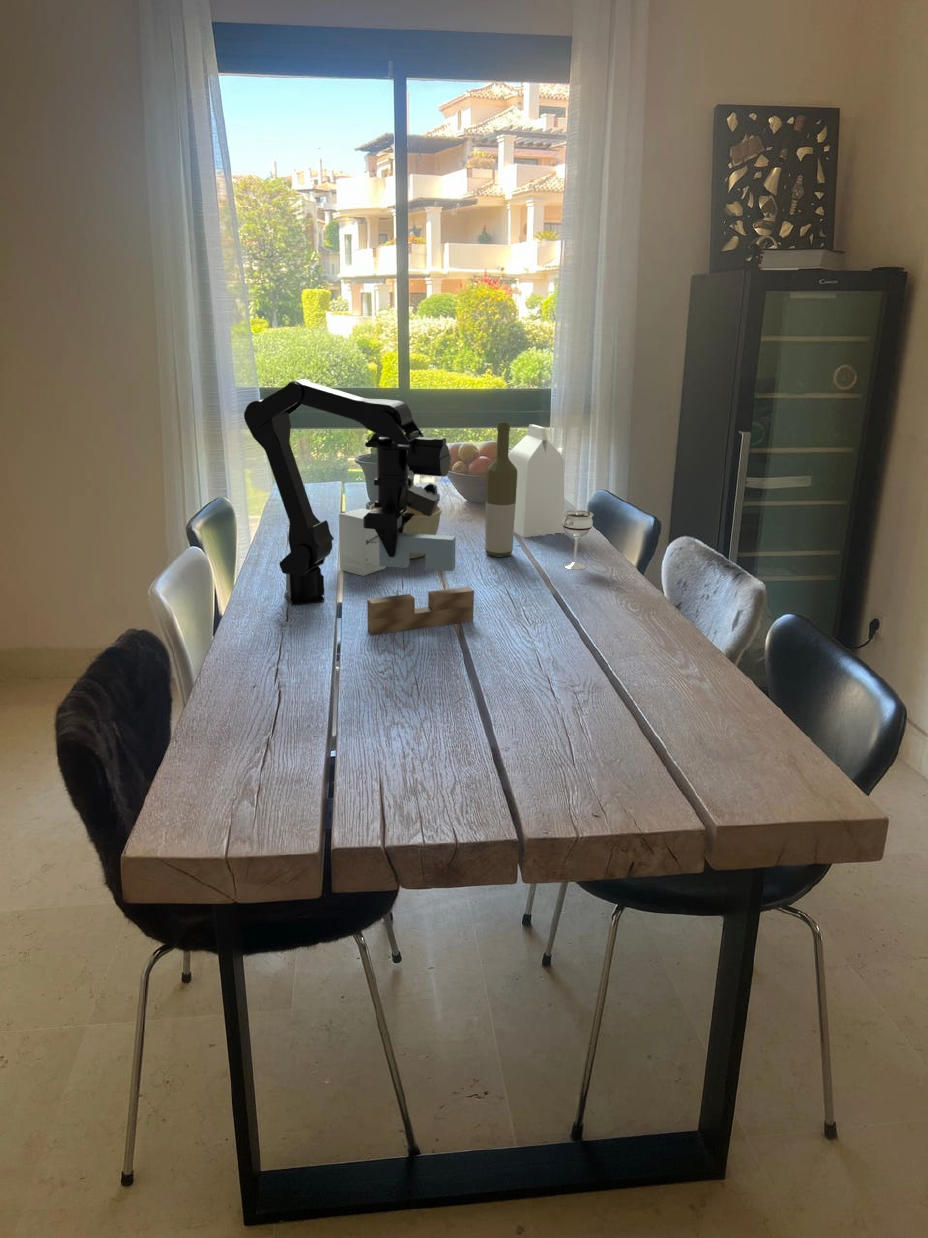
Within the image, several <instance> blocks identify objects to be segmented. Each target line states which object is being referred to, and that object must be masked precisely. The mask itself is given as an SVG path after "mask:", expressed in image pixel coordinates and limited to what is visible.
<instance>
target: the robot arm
mask: <svg viewBox="0 0 928 1238" xmlns="http://www.w3.org/2000/svg"><path fill="white" fill-rule="evenodd" d="M303 405H304V406H307V407H310V408H314V409H315V410H320V411H323V412H326V413H331V414H333V415H336V416H339V417H343V418H346V419H349V420H352V421H355V422H356V423H358V424H360V425H361V426H363V427H364V428H365V429H367V430H368V431H371V432H373V434H372V436H371V437H370V439H368V441H366V442H365V443H364V447H366V448H373V449H374V448H376V477H375V478H374V480H373V486H376V489H377V500H375V501H374V504H375V507H376V508H382V509H375V508H373V509H372V510H371V511H370V512H369V513H367V514H366V515H365V516H364V517H363V524H364V528H366V529H375V531H376V532H377V534H378V536H379V538H380V540H381V542H382V544H383V546H384V548H385V550H386V552H387V554H388V556H389V557H395V553H396V547H397V540H398V533H403V532H404V528H405V525H406V523H407V522H408V521H409V520H410V519H411V518H412V517H413V516H414V515H415V514H414V513H407V507H410V508H412V509H414V510H417V511H419V512H421V513H422V514H423V515H426V516H431V515H432V514H433V513H434V512H435V509H436V507H437V506H438V504H439V502H440V499H441V496H440V495H441V494H440V493H438V487H437V485H436V484H434V483H431V482H429V483H428V484H427V485H425V487H423V486H421V485H420V486H417V485H414V483H413V482H414V480H413V478H412V476H411V475H409V471H411V472H412V473H413V474H414V475H420V476H433V477H447V476H448V474H449V471H450V467H451V453H450V450H449V446H448V445H447V438H446V437H442V436H441V437H425V435H424V433H423V432H422V431H421V429H420V427H419V426H418V425H417V423H416V422H415V421H414V419H413V415H412V411H411V409H410V407H409V405H408V404H407V403H405V402H404V401H401V400H394V399H387V398H386V399H385V398H366V397H365V398H364V397H362V396H359V395H355V394H351V393H348V392H346V391H342V390H338V389H335V388H331V387H328V386H325V385H322V384H321V385H320V384H318V383H314V382H312V381H310V380H308V379H304V378H301V379H296V380H292V381H290V382H288V383H287V385H285V386H284V387H282V388H281V389H279V390H277V391H276V392H274V393H272V394H270V395H269V396H267V397H265V398H262V399H261V398H260V399H257V400H254V401H251V402H249V403H248V405H247V406H246V407H245V410H244V411H243V417H244V421H245V425H246V426H247V427H248V428H247V429H249V432H250V434H251V436H252V437H253V439H254V440H255V441H256V442H257V443H258V444H259V446H260V447H261V448H262V449H263V450H264V452H265V455H266V457H267V460H268V464H269V466H270V468H271V469H270V470H271V472H272V475H273V477H274V481H275V484H276V486H277V489H278V494H279V495H280V498H281V501H282V504H283V507H284V510H285V514H286V515H287V519H288V523H289V525H288V537H287V539H288V545H289V551H290V552H289V553H288V554H287V555H286V556H285V557H284V558H283V559H282V560H281V561H280V562H279V563H278V564H279V568H280V569H281V572H282V574H285V579H286V592H284V596H285V598H286V599H287V600H288V602H290V604H291V605H301V604H310V603H318V602H324V601H325V597H324V595H325V577H324V575H323V574H322V571H321V570H322V569H321V568H320V567H319V566H321V565H323V564H324V562H325V560H326V558H327V557H329V555H330V554H331V552H332V551H333V540H335V538H334V536H333V535H332V534H331V531H330V527H329V523H328V520H327V519H325V520H322V521H321V520H319V519H318V518H317V517H316V516H315V514H314V512H313V509H312V506H311V504H310V501H309V497H308V495H307V491H306V489H305V484H304V482H303V479H302V477H301V473H300V470H299V468H298V464H297V462H296V457H295V455H294V453H293V450H292V449H293V448H292V446H291V441H290V439H291V428H292V425H291V420H290V419H291V418H290V415H291V414H293V413H294V412H295V411H297V410H298V409H299V408H300V407H302V406H303Z"/></svg>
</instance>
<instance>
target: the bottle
mask: <svg viewBox="0 0 928 1238" xmlns="http://www.w3.org/2000/svg"><path fill="white" fill-rule="evenodd" d="M510 426H511V424H510V423H508V422H498V423H497V426H496V427H497V428H496V431H497V434H496V435H497V440H496V457H495V459H494V460H493V461H492V462H491V463H490V464H489V466H488V467H487V468H486V471H485V532H484V533H485V535H484V536H485V538H484V539H485V540H484V541H485V542H484V543H485V544H484V545H485V546H484V550H485V553H486V555H489V556H492V557H497V558H503V557H508V556H510V555H512V553H513V549H514V521H515V505H516V489H517V473H518V472H517V469H516V467H515V466H514V465H513V464H512V462H511V461H510V460H509V457H508V454H509V452H510V451H509V449H510V448H509V446H510V445H509V443H510V430H511V429H510V428H511V427H510Z"/></svg>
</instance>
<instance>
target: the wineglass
mask: <svg viewBox="0 0 928 1238" xmlns="http://www.w3.org/2000/svg"><path fill="white" fill-rule="evenodd" d="M563 514H564V518H563V520H562V526H563V529H564V532H566V534H568V535H569V536H571V537H572V538H573V539H574V542H573V543H574V547H573V548H574V550H573V551H574V554H573V562H566V563H564V564H563V565H564V566H563V567H564V568H567V569H569V570H584V569H585V568H586V567H587V566H586V565H585V564H583V563H580V562H576V561H577V552H578V544H579V543H578V542H579V539H581V538H582V537H584V536H586V535H587V534H589V532H591V530H592V528H593V526H594V525H593V524H594V522H593V519H592V517H594V514H593V512H591V511H588V510H587V511H586V510H581V509H570V510H569V509H568V510H564V512H563Z"/></svg>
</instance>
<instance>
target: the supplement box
mask: <svg viewBox="0 0 928 1238" xmlns="http://www.w3.org/2000/svg"><path fill="white" fill-rule="evenodd" d="M370 511H371V510H370V509H367V508H358V509H354V510H350V511H346V512H341V513H338V536H339V538H338V540H339V541H338V542H339V570H341V571H344V572H347V573H351V574H355V575H357V576H362V577H365V576H367V575H369V574H374V573H376V572H378V571H381V570H385V569H386V567H385V566H380V562H379V536H378V534H377V532H376V531H375V529H366V528H364V524H363V517H364V516H365V515H366V514H367V513H369V512H370Z"/></svg>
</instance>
